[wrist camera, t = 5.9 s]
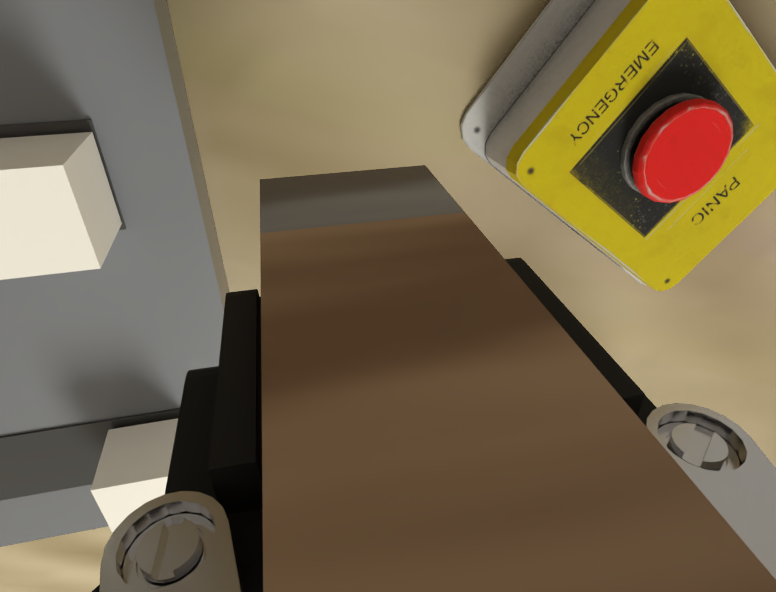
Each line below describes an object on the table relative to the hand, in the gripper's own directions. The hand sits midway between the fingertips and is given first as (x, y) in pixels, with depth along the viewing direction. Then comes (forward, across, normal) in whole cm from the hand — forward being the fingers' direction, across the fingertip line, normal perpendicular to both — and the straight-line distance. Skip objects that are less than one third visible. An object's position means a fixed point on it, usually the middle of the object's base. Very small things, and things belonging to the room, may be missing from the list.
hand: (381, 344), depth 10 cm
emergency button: (+13, -14, 0) cm, 19 cm away
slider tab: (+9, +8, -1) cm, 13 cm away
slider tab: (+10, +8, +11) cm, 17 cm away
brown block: (+4, 0, 0) cm, 4 cm away
